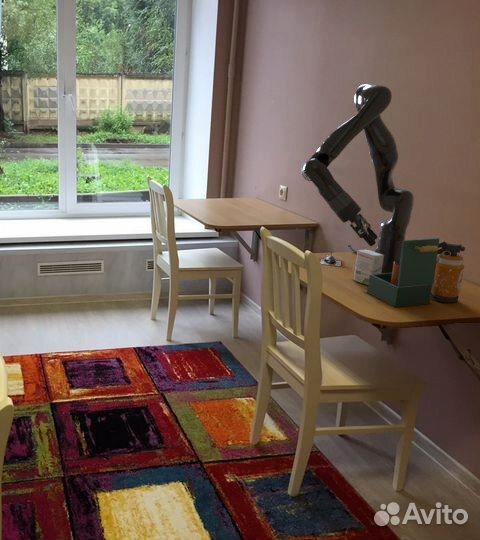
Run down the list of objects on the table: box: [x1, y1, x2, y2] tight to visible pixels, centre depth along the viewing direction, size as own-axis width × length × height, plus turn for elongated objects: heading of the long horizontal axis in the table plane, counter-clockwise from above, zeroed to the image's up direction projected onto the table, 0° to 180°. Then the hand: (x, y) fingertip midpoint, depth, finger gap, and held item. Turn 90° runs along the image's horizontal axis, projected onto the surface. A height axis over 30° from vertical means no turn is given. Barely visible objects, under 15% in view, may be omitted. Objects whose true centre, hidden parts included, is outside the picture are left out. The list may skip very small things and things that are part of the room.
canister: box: [430, 241, 466, 303], centre depth 206 cm, size 9×11×20 cm
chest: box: [366, 273, 432, 308], centre depth 209 cm, size 15×14×7 cm
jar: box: [391, 260, 403, 287], centre depth 208 cm, size 4×4×12 cm
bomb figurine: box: [320, 249, 342, 267], centre depth 249 cm, size 8×8×6 cm
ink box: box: [353, 249, 384, 286], centre depth 223 cm, size 8×5×12 cm, turn 25°
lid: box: [398, 237, 440, 287], centre depth 197 cm, size 15×14×5 cm
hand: (374, 241), depth 209 cm, fingers open, 8 cm apart
